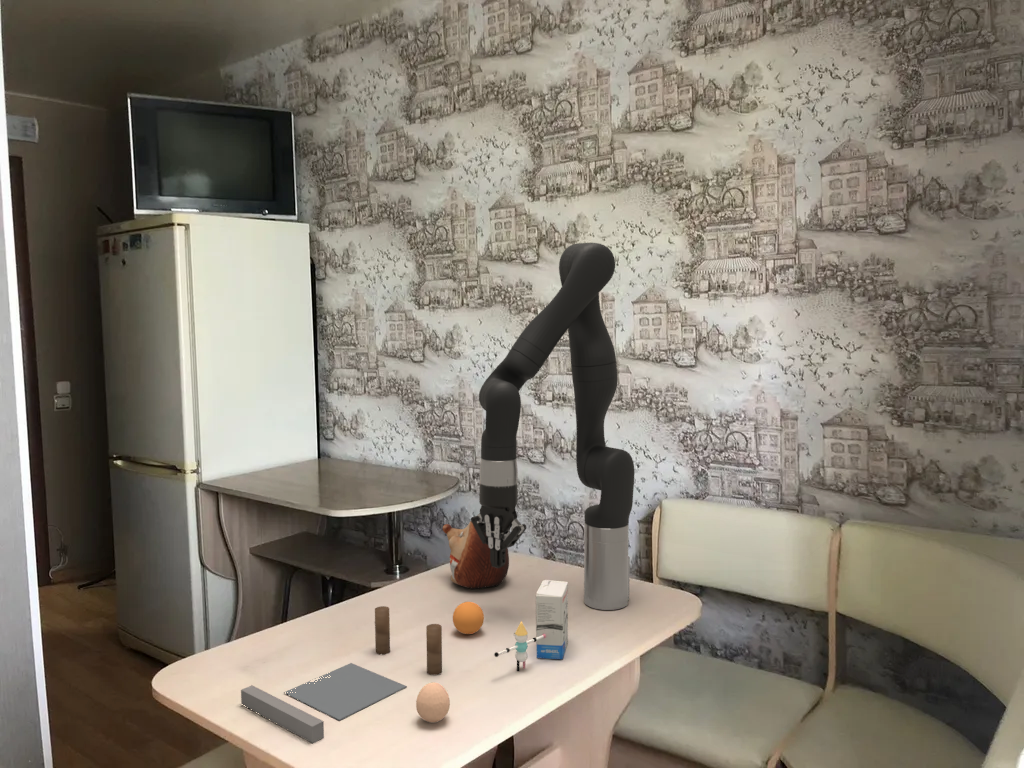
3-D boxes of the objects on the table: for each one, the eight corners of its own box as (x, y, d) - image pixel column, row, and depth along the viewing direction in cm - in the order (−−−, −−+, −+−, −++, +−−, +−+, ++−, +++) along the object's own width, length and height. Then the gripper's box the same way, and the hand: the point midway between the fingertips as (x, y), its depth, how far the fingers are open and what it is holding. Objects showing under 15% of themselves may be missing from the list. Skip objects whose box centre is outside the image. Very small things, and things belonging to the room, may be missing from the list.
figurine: (459, 568, 195) (459, 507, 194) (519, 578, 188) (519, 514, 187) (427, 587, 182) (427, 521, 181) (490, 598, 175) (490, 530, 174)
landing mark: (351, 663, 143) (351, 662, 143) (406, 687, 135) (406, 686, 135) (283, 693, 133) (283, 692, 133) (339, 720, 124) (339, 719, 124)
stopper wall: (252, 700, 130) (252, 685, 130) (323, 737, 119) (323, 721, 119) (241, 704, 129) (240, 689, 129) (312, 743, 118) (312, 726, 117)
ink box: (562, 660, 145) (562, 596, 144) (534, 658, 146) (535, 594, 145) (568, 641, 153) (569, 580, 152) (542, 639, 154) (542, 578, 153)
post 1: (383, 647, 150) (382, 605, 150) (393, 651, 149) (392, 608, 148) (372, 651, 148) (371, 609, 148) (382, 655, 147) (381, 612, 146)
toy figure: (540, 656, 146) (540, 610, 145) (549, 661, 144) (550, 613, 144) (489, 677, 138) (489, 628, 137) (499, 682, 136) (499, 632, 135)
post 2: (434, 666, 142) (433, 622, 141) (445, 671, 141) (444, 626, 140) (423, 672, 140) (423, 627, 139) (434, 676, 139) (434, 631, 138)
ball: (467, 624, 161) (467, 594, 161) (490, 632, 157) (490, 601, 157) (446, 633, 156) (446, 603, 156) (469, 642, 153) (469, 611, 152)
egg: (441, 709, 127) (441, 673, 127) (455, 724, 123) (455, 686, 122) (411, 717, 125) (410, 680, 124) (424, 732, 121) (423, 694, 120)
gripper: (536, 482, 160) (535, 569, 161) (485, 473, 168) (484, 556, 169) (513, 488, 154) (512, 578, 155) (460, 479, 162) (460, 564, 164)
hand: (497, 566), depth 162 cm, fingers closed
